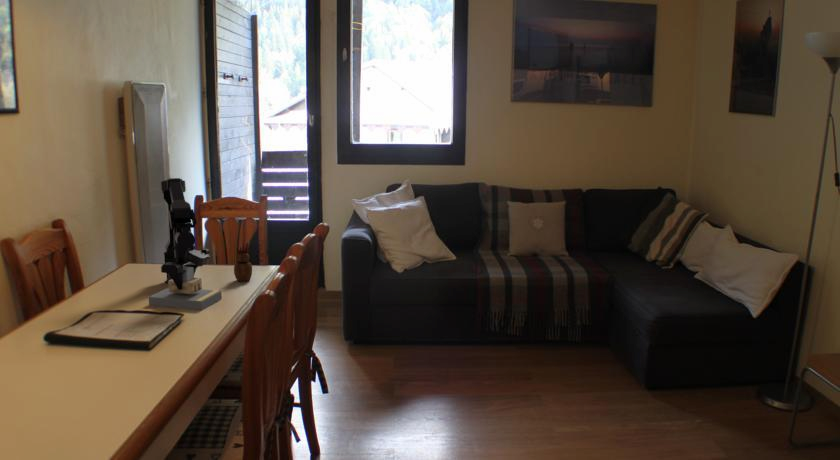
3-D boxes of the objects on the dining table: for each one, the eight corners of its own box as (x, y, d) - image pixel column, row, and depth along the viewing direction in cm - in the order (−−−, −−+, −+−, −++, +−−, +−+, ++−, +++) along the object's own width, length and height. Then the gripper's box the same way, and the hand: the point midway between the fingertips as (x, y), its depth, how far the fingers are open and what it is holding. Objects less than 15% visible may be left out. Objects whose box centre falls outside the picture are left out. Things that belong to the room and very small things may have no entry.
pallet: (168, 292, 234) (168, 280, 233) (178, 287, 240) (178, 276, 239) (192, 294, 232) (192, 282, 232) (201, 289, 238) (201, 278, 237)
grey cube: (175, 280, 234) (174, 269, 233) (182, 277, 238) (182, 266, 237) (187, 281, 233) (186, 270, 232) (194, 278, 237) (193, 267, 236)
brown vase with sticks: (254, 279, 268) (253, 241, 265) (249, 282, 262) (248, 244, 259) (237, 278, 268) (236, 241, 266) (232, 282, 263) (230, 244, 260)
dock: (149, 305, 233) (148, 296, 232) (170, 294, 245) (170, 286, 245) (202, 310, 228) (201, 300, 228) (221, 299, 241) (221, 290, 240)
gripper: (189, 250, 222) (191, 296, 225) (218, 238, 240) (220, 281, 243) (158, 248, 225) (161, 293, 228) (189, 236, 242) (191, 279, 245)
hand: (185, 287), depth 236 cm, fingers closed on pallet, 6 cm apart
